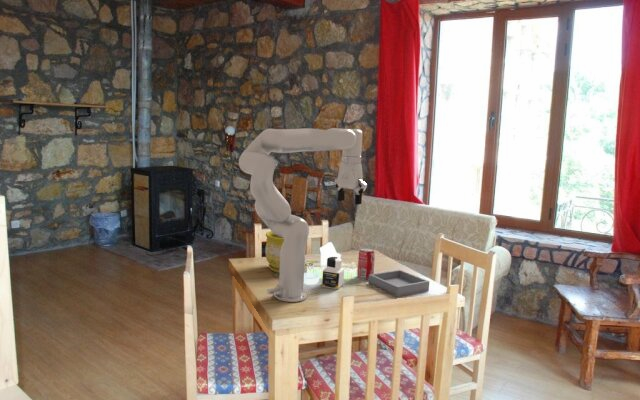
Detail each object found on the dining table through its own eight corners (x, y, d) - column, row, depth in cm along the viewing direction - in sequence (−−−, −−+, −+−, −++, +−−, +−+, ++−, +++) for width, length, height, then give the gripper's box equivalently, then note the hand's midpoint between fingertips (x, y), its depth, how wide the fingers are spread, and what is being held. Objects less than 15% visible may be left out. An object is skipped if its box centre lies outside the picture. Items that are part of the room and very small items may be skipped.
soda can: (372, 281, 224) (374, 252, 222) (356, 279, 226) (358, 250, 224) (374, 276, 231) (376, 248, 229) (358, 274, 233) (360, 246, 231)
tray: (396, 296, 206) (397, 287, 205) (368, 283, 221) (368, 274, 220) (428, 290, 216) (429, 281, 216) (399, 278, 231) (399, 269, 230)
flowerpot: (297, 277, 223) (299, 240, 220) (258, 272, 227) (259, 236, 225) (308, 266, 240) (310, 232, 237) (272, 261, 244) (274, 228, 242)
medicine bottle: (321, 286, 213) (323, 258, 211) (327, 282, 219) (329, 254, 217) (338, 289, 210) (340, 261, 208) (343, 284, 217) (345, 257, 215)
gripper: (329, 158, 209) (328, 199, 212) (360, 162, 197) (358, 206, 199) (343, 157, 214) (341, 198, 217) (374, 162, 202) (371, 204, 204)
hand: (349, 202), depth 208 cm, fingers open, 9 cm apart
